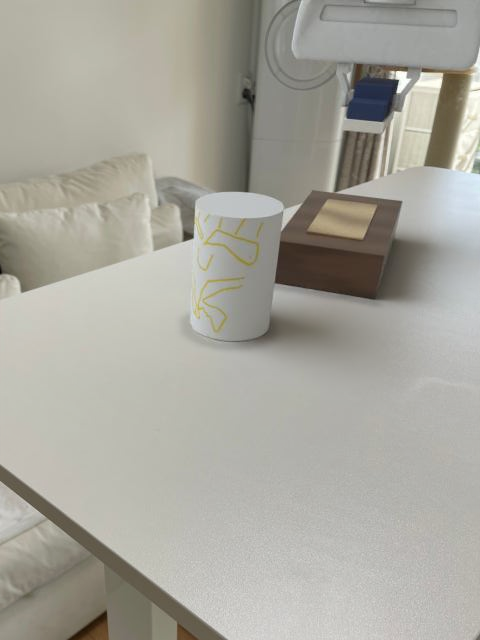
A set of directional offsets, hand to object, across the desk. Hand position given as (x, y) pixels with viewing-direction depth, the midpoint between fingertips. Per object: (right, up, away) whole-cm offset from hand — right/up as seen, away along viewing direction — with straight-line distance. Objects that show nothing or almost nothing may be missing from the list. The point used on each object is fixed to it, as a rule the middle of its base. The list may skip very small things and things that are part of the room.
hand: (370, 108), depth 76 cm
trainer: (0, -1, +1) cm, 2 cm away
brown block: (-2, -16, +6) cm, 17 cm away
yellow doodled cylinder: (-18, -27, -10) cm, 34 cm away
